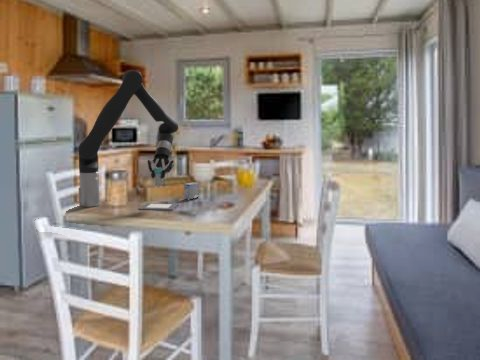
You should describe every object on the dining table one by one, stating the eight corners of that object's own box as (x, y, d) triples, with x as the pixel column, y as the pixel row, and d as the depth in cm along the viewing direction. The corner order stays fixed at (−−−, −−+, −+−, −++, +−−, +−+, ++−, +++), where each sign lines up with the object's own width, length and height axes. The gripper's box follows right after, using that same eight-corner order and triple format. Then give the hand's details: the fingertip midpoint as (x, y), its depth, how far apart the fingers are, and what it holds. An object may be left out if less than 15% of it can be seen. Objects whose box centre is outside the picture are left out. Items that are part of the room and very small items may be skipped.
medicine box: (193, 197, 259) (193, 182, 258) (199, 198, 257) (199, 183, 255) (183, 199, 253) (183, 184, 252) (190, 200, 250) (189, 184, 249)
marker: (153, 185, 228) (153, 169, 227) (156, 184, 232) (155, 168, 231) (161, 185, 227) (161, 169, 226) (164, 184, 231) (163, 168, 230)
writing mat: (138, 209, 226) (138, 208, 226) (146, 204, 238) (146, 202, 238) (172, 210, 224) (172, 208, 224) (178, 205, 237) (178, 203, 237)
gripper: (148, 146, 235) (141, 172, 225) (175, 146, 233) (170, 173, 223) (151, 155, 241) (145, 181, 231) (178, 155, 239) (173, 182, 229)
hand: (157, 177), depth 227 cm, fingers closed on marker, 4 cm apart
